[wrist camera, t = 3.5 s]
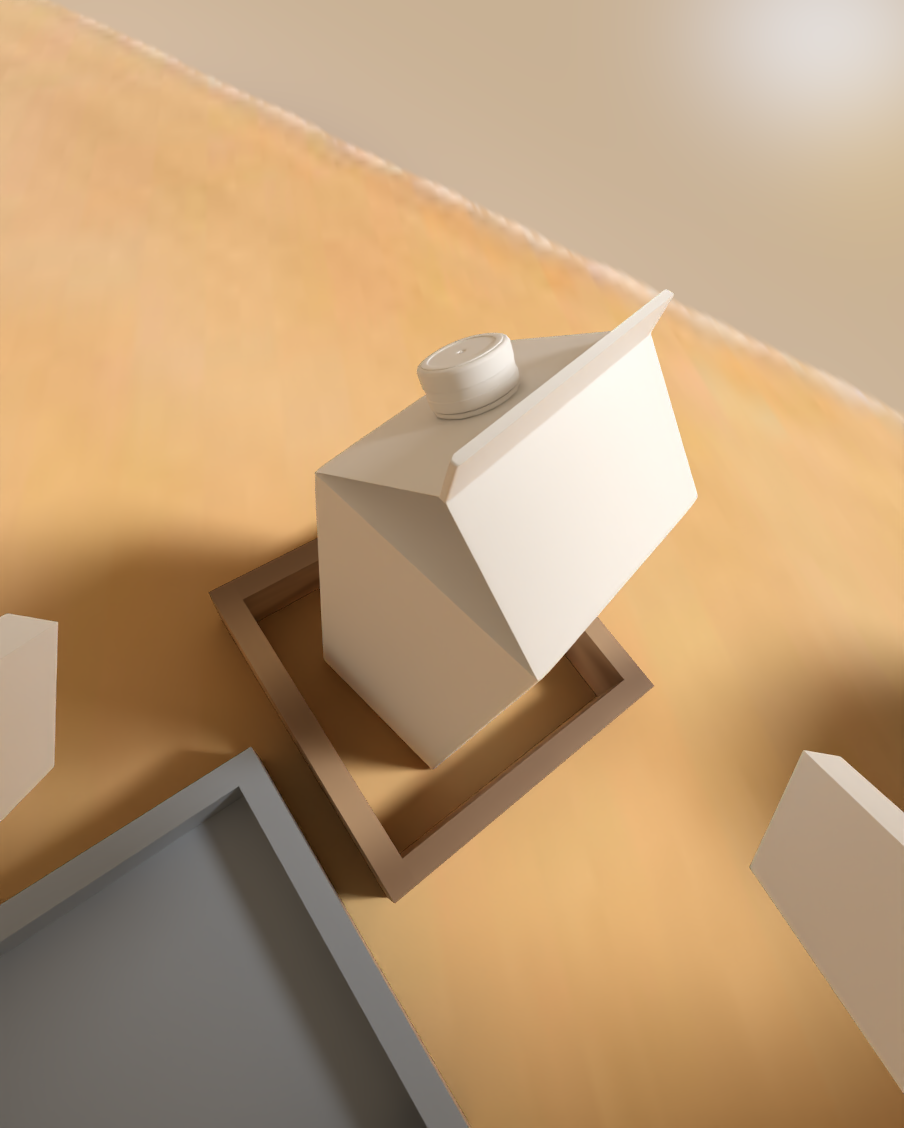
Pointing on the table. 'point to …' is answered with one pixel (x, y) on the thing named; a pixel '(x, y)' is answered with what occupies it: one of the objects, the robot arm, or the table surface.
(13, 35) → the table surface
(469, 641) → the milk carton
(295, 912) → the tray
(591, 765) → the table surface
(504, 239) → the table surface
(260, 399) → the table surface
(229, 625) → the holder frame
